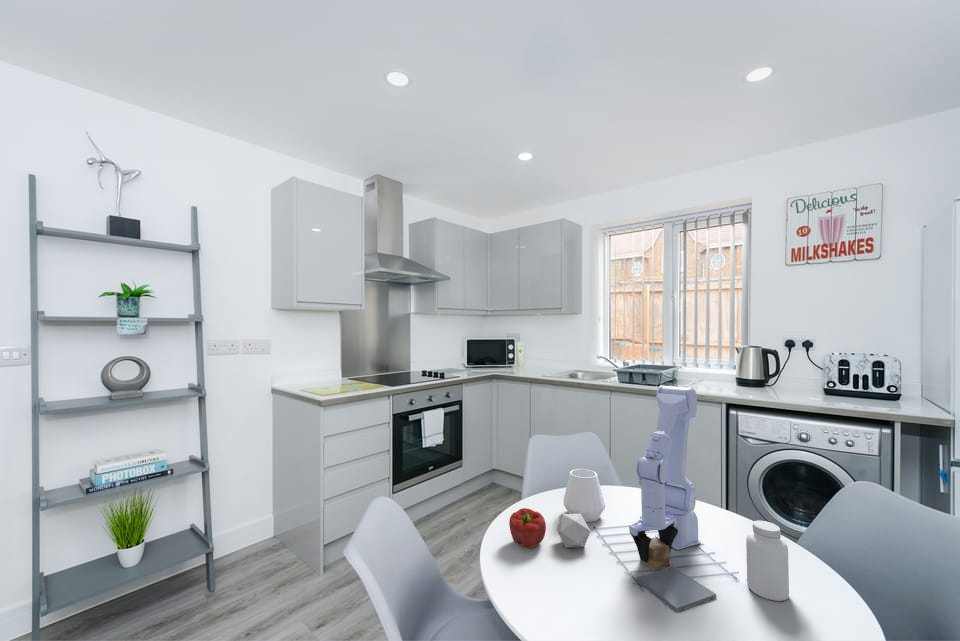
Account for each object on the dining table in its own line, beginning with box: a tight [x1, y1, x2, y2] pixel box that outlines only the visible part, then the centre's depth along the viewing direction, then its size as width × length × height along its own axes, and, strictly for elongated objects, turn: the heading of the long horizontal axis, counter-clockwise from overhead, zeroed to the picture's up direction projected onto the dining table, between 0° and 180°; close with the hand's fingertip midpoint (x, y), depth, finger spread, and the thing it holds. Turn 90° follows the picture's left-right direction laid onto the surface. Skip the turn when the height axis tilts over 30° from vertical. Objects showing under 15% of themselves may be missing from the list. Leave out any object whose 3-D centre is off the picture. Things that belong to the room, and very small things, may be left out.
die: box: [556, 513, 591, 549], centre depth 115 cm, size 8×9×10 cm
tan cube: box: [639, 537, 671, 571], centre depth 106 cm, size 5×5×5 cm
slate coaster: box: [635, 565, 717, 613], centre depth 95 cm, size 12×12×1 cm
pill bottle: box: [745, 520, 790, 602], centre depth 94 cm, size 8×8×15 cm
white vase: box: [563, 468, 606, 523], centre depth 134 cm, size 13×13×14 cm
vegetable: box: [508, 507, 547, 549], centre depth 115 cm, size 11×10×10 cm
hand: (654, 557), depth 106 cm, fingers open, 7 cm apart
